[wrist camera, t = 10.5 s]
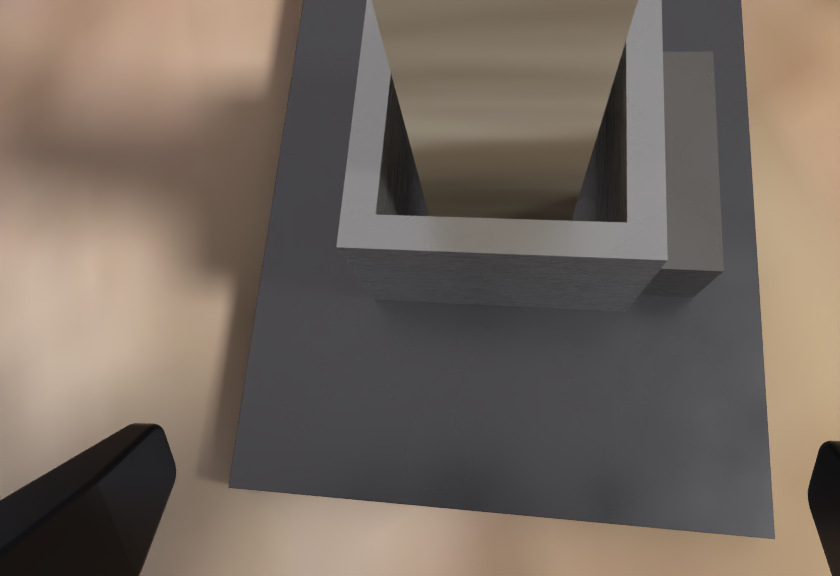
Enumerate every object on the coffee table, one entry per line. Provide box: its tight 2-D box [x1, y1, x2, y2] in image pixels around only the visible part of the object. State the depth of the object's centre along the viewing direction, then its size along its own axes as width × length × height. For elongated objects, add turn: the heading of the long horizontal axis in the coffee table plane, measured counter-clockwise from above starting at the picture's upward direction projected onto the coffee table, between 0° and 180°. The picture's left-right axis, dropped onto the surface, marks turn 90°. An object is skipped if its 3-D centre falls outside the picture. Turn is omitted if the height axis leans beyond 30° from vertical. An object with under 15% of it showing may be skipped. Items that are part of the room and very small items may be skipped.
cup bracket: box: [228, 0, 775, 539], centre depth 17 cm, size 18×14×6 cm
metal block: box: [371, 0, 638, 221], centre depth 13 cm, size 4×4×12 cm
